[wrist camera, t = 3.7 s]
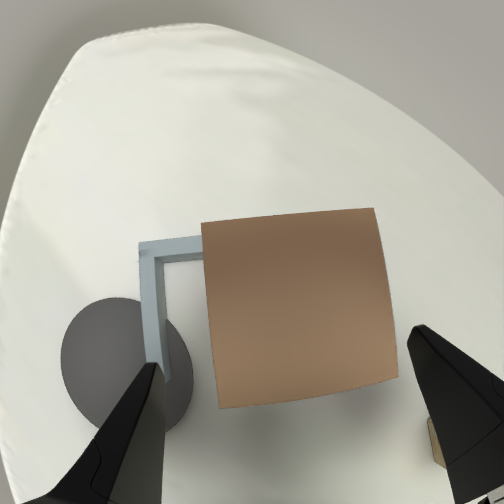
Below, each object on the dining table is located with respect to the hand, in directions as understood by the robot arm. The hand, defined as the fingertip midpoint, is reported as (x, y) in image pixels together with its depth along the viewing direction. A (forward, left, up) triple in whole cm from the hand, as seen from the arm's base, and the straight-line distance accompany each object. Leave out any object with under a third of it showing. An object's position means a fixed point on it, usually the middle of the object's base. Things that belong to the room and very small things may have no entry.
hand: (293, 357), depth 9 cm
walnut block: (+1, +1, -9) cm, 9 cm away
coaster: (-7, +8, -9) cm, 14 cm away
